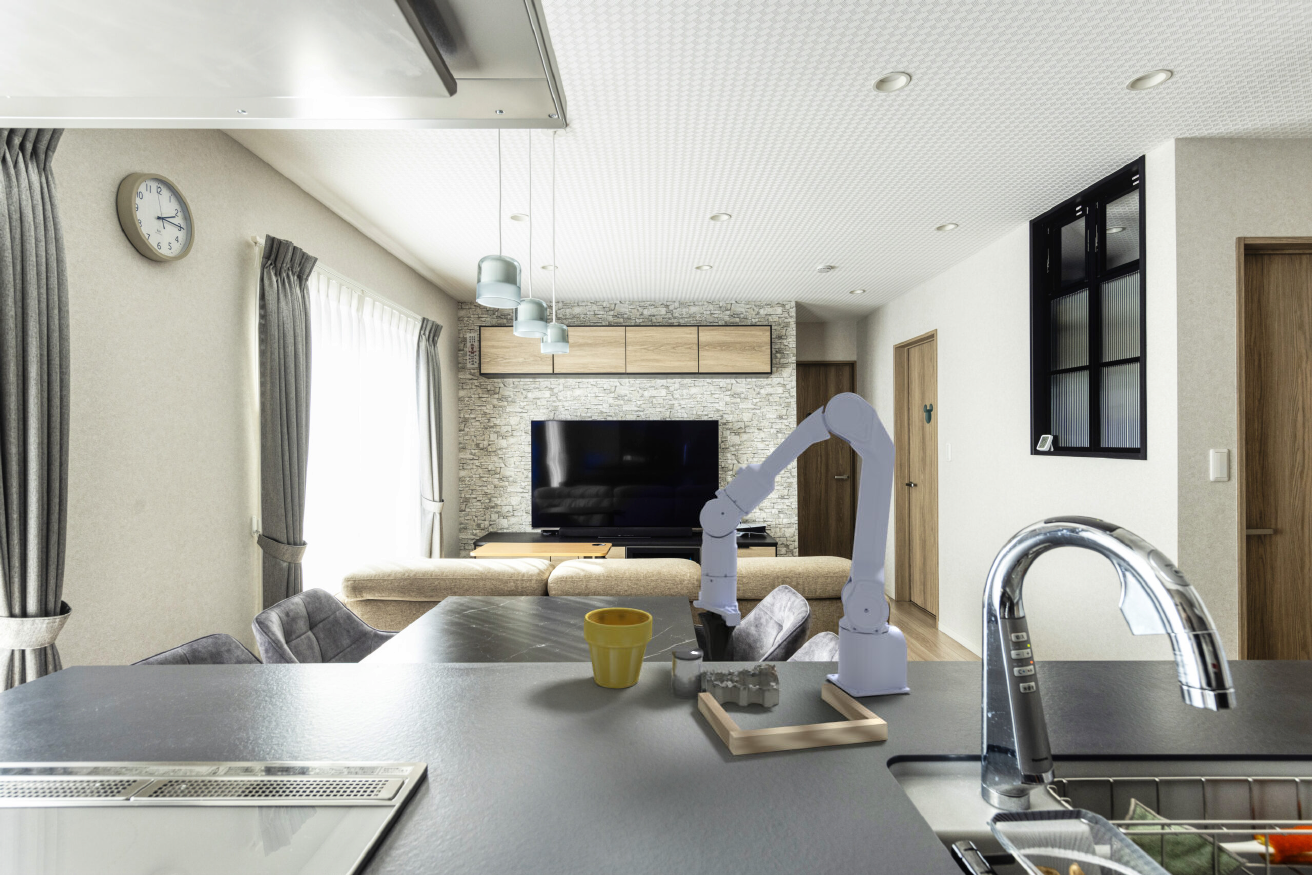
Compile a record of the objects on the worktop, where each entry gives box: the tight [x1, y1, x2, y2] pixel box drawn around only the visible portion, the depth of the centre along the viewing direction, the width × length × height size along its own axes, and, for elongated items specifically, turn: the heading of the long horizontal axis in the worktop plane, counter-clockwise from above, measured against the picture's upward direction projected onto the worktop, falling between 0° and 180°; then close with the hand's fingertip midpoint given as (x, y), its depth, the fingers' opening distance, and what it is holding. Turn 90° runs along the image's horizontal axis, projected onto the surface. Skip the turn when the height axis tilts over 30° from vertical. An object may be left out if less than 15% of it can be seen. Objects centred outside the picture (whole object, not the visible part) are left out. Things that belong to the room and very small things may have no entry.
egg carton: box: [705, 663, 782, 708], centre depth 90 cm, size 11×8×4 cm
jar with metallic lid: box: [670, 645, 704, 700], centre depth 91 cm, size 5×5×6 cm
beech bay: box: [697, 682, 889, 756], centre depth 81 cm, size 20×14×2 cm
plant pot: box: [583, 607, 654, 689], centre depth 95 cm, size 10×10×10 cm
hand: (717, 659), depth 100 cm, fingers closed
